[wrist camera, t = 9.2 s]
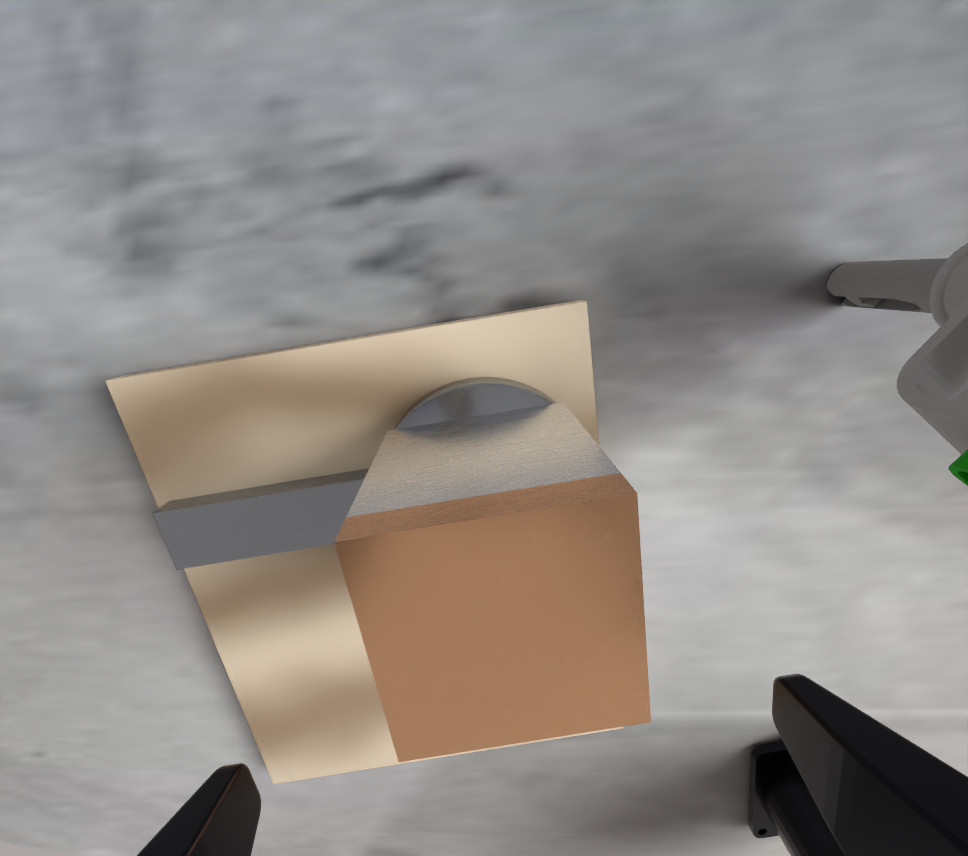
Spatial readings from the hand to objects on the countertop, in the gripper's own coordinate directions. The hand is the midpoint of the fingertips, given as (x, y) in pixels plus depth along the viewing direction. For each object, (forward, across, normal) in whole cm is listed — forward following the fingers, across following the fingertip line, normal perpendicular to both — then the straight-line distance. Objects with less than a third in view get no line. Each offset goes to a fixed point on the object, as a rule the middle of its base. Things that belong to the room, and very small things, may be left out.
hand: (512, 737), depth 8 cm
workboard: (+12, +4, +4) cm, 13 cm away
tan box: (+9, 0, 0) cm, 9 cm away
